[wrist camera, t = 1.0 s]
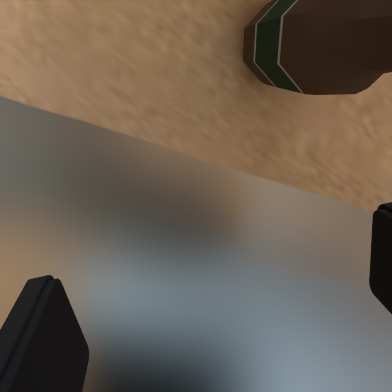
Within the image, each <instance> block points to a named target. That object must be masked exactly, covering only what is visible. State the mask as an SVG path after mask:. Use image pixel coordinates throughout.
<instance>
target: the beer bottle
mask: <svg viewBox="0 0 392 392" xmlns="http://www.w3.org/2000/svg"><path fill="white" fill-rule="evenodd" d="M243 61H244V63H245V64H246V65H247V66H248V67H249V68H250V69H251V71H252V72H253V73H254V74H255V75H256V76H257V78H258V79H259V80H260V81H261V82H262V83H264V84H266V85H270V86H274V87H278V88H282V89H286V90H290V91H294V92H298V93H302V94H311V95H333V94H357V93H359V92H361V91H363V90H365V89H367V88H368V87H370V86H371V85H372V84H373V83H374V82H375V81H376V80H377V79H378V78H379V77H380V76H381V75H382V74H383V73H388V72H392V0H272V1H271V2H269V3H268V4H266V5H265V7H264V8H263V9H262V10H261V11H260V12H259V13H258V14H257V15H256V16H255V17H254V19H253V20H252V21H251V22H250V23H249V24H248V25H247V26H246V27H245V28H244V50H243Z"/></svg>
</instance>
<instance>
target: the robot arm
mask: <svg viewBox="0 0 392 392" xmlns="http://www.w3.org/2000/svg"><path fill="white" fill-rule="evenodd" d="M369 283H370V284H369V285H370V288H371V291H372V293H373V294H374V295H375V296H376V297H377V298H378V300H379V301H380V302H381V303H382V304H383V305H384V306H385V307H386V308H387V309H388V311H389V312H390V313H391V314H392V202H390V203H386V204H381V205H380V206H379V207H378V209H377V210H376V211H375V212H374V213H373V224H372V242H371V259H370V277H369ZM88 361H89V349H88V345H87V343H86V340H85V338H84V335H83V333H82V331H81V328H80V326H79V323H78V321H77V319H76V316H75V314H74V312H73V309H72V307H71V304H70V302H69V300H68V297H67V295H66V292H65V290H64V287H63V285H62V283H61V281H60V280H59V279H54V278H53V277H52V276H51V275H47V276H43V277H38V278H33V279H30V280H28V281H27V283H26V284H25V286H24V288H23V290H22V292H21V293H20V295H19V297H18V299H17V301H16V302H15V304H14V306H13V308H12V310H11V312H10V314H9V315H8V317H7V319H6V321H5V322H4V324H3V326H2V328H1V330H0V392H82V389H83V384H84V380H85V375H86V370H87V365H88Z"/></svg>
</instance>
